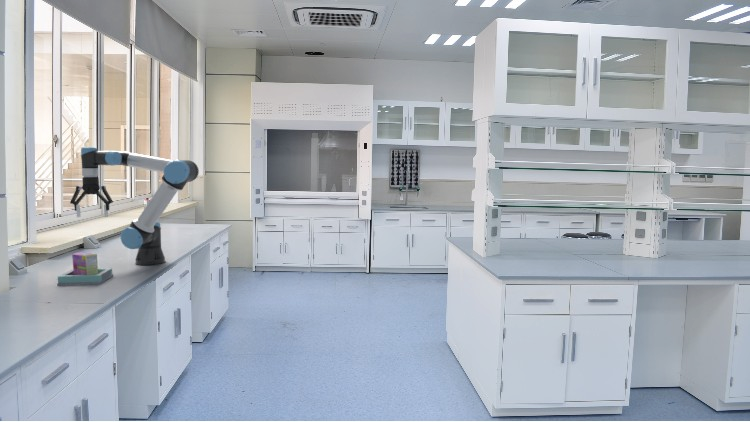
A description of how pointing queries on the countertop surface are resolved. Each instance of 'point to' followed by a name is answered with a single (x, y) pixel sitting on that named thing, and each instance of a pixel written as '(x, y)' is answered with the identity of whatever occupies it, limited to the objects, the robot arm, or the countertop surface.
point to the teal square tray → (84, 278)
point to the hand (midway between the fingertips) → (92, 216)
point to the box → (85, 264)
